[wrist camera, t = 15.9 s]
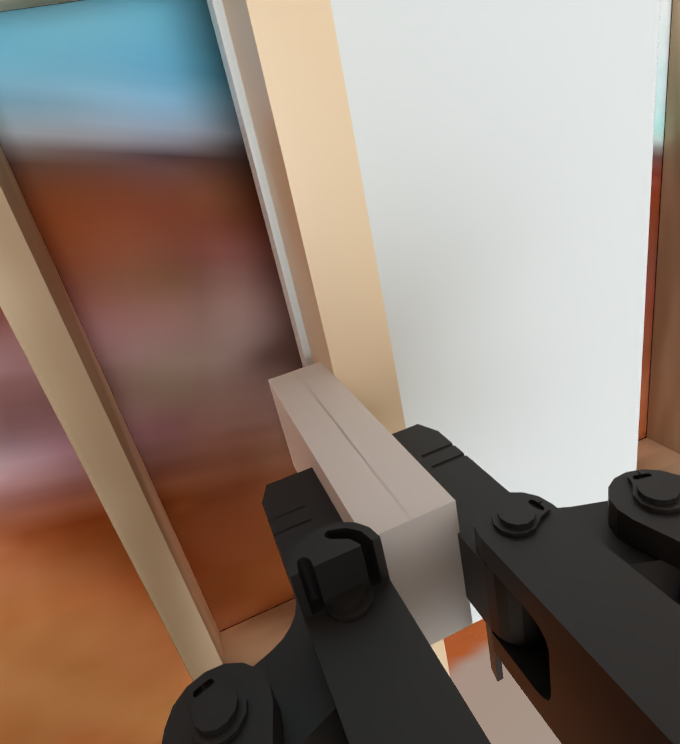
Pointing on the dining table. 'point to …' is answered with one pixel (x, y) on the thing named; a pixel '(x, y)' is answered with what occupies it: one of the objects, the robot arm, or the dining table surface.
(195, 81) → the dining table surface
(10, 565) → the dining table surface
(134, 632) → the dining table surface
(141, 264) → the dining table surface
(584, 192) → the lid
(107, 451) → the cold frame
